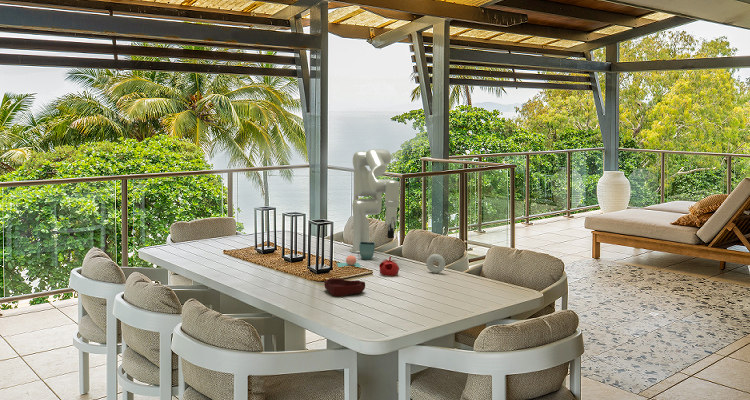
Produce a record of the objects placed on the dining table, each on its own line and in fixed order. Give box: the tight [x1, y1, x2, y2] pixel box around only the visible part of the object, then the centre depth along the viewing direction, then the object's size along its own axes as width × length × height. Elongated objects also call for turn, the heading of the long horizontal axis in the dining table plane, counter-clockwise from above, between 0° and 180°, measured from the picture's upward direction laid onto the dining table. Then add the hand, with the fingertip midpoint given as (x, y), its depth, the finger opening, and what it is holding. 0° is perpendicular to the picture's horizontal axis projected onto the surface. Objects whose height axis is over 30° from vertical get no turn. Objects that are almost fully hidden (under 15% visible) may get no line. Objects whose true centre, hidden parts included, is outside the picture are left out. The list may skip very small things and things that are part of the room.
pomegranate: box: [378, 256, 400, 277], centre depth 333 cm, size 10×10×9 cm
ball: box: [345, 255, 357, 266], centre depth 353 cm, size 6×6×6 cm
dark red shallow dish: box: [324, 277, 366, 297], centre depth 291 cm, size 18×16×5 cm
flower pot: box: [359, 241, 376, 261], centre depth 373 cm, size 9×9×9 cm
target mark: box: [336, 262, 362, 269], centre depth 353 cm, size 12×12×1 cm
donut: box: [425, 253, 446, 274], centre depth 341 cm, size 10×4×10 cm, turn 69°
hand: (390, 237), depth 355 cm, fingers closed
